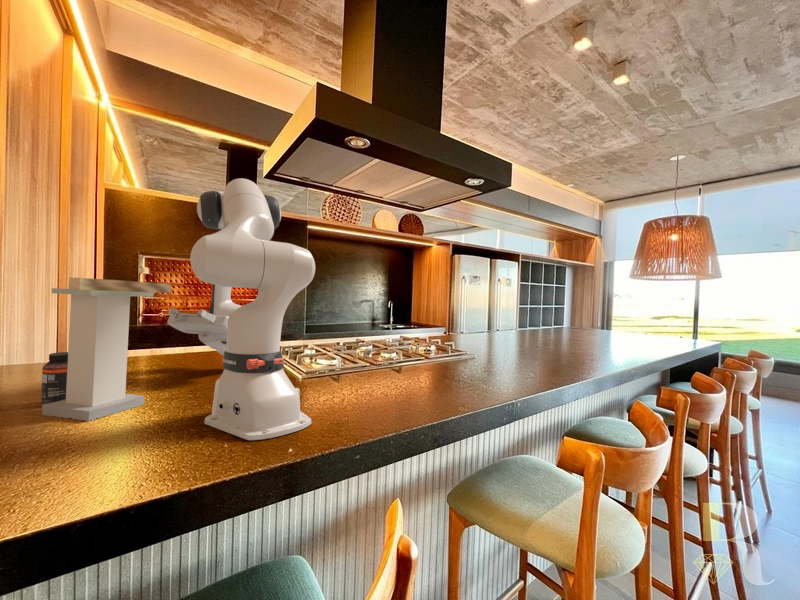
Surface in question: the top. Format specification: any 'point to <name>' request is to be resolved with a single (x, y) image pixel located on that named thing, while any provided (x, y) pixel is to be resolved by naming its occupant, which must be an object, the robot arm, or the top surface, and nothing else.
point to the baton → (117, 285)
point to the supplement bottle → (54, 378)
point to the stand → (96, 355)
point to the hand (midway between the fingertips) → (185, 311)
